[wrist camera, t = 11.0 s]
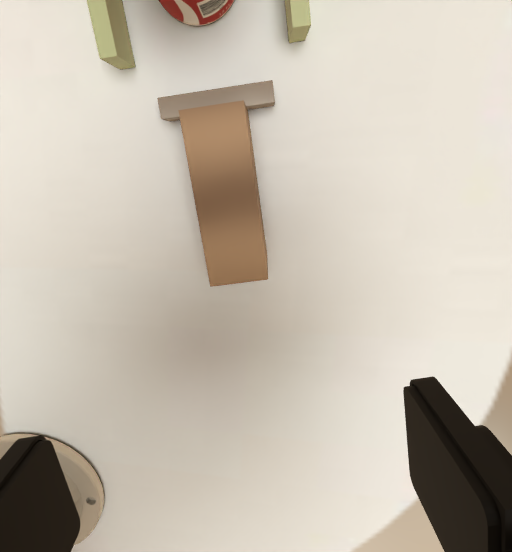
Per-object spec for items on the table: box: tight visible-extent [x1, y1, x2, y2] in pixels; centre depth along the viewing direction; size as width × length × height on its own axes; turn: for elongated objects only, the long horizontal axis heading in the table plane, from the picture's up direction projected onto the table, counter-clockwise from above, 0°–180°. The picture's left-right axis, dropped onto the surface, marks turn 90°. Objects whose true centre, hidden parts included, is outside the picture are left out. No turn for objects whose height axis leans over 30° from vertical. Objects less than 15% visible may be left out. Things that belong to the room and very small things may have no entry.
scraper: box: [157, 80, 275, 287], centre depth 26 cm, size 11×7×6 cm, turn 8°
